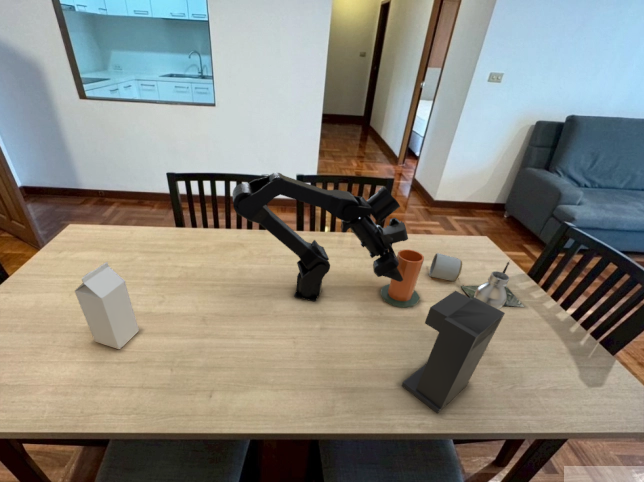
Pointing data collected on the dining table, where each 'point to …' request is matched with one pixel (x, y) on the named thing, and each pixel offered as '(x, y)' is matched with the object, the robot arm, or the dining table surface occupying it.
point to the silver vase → (511, 298)
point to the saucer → (402, 304)
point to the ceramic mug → (445, 267)
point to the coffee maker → (453, 348)
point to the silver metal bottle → (493, 290)
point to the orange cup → (406, 275)
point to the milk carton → (107, 307)
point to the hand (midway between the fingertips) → (399, 271)
